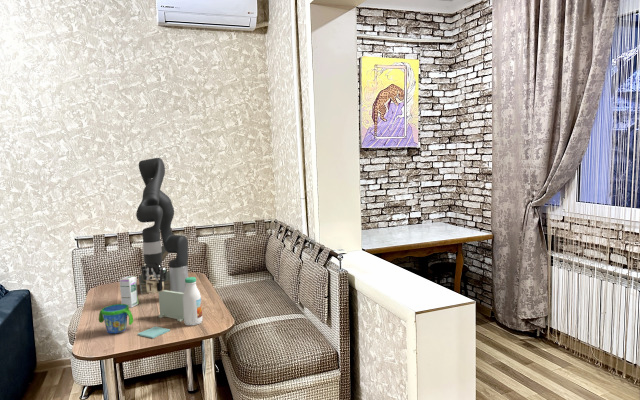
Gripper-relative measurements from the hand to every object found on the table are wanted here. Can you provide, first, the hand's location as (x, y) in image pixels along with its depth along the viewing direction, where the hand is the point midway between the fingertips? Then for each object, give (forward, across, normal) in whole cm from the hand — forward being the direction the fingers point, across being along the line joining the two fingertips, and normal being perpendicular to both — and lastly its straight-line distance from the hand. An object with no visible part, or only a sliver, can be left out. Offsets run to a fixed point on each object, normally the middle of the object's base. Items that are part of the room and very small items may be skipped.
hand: (155, 290), depth 196 cm
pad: (+15, -7, +8) cm, 18 cm away
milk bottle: (+15, -14, -8) cm, 22 cm away
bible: (+16, +50, -43) cm, 68 cm away
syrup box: (+16, +35, -13) cm, 41 cm away
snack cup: (+15, +10, +13) cm, 23 cm away
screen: (+15, 0, -9) cm, 18 cm away
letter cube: (0, 0, 0) cm, 0 cm away
